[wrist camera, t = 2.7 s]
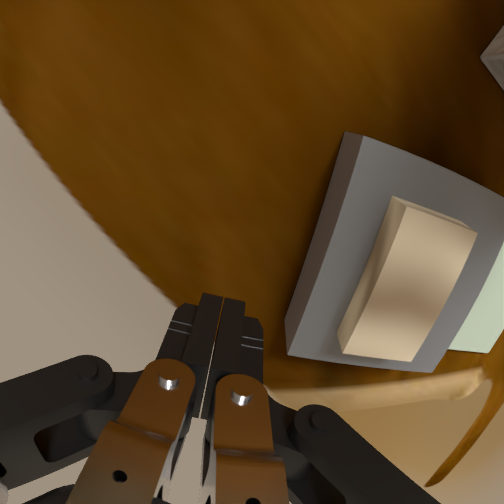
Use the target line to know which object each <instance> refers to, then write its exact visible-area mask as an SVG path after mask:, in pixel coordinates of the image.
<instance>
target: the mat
mask: <svg viewBox="0 0 504 504" xmlns="http://www.w3.org/2000/svg"><path fill="white" fill-rule="evenodd" d="M503 329H504V242H503V245H502V247H501V249H500V252H499V254H498V256H497V259H496V261H495V263H494V265H493V267H492V269H491V272H490V274H489V276H488V278H487V280H486V282H485V284H484V286H483V288H482V290H481V292H480V294H479V296H478V298H477V300H476V301H475V303H474V305H473V307H472V309H471V311H470V312H469V314H468V316H467V318H466V319H465V321H464V323H463V325H462V326H461V328H460V330H459V331H458V333H457V335H456V336H455V338H454V340H453V341H452V343H451V344H450V346H449V348H448V349H453V350H462V351H472V352H482V353H489V351H490V350H491V348H492V346H493V345H494V343H495V342H496V340H497V339H498V337H499V335H500V334H501V332H502V331H503Z"/></svg>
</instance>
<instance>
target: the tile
mask: <svg viewBox="0 0 504 504" xmlns="http://www.w3.org/2000/svg"><path fill="white" fill-rule="evenodd" d="M477 234H478V233H477V232H475V231H474V230H473V229H471V228H470V227H468V226H467V225H466V224H464V223H463V222H461V221H459V220H457V219H454V218H452V217H449V216H447V215H444V214H441V213H439V212H436V211H434V210H431V209H428V208H425V207H423V206H420V205H417V204H414V203H412V202H409V201H406V200H403V199H400V198H397V197H394V196H392V198H391V200H390V203H389V206H388V209H387V212H386V215H385V217H384V220H383V223H382V226H381V228H380V231H379V234H378V236H377V239H376V242H375V244H374V247H373V249H372V252H371V254H370V257H369V259H368V262H367V264H366V267H365V269H364V272H363V274H362V276H361V279H360V281H359V284H358V286H357V288H356V291H355V293H354V295H353V297H352V300H351V302H350V304H349V307H348V309H347V311H346V313H345V315H344V318H343V320H342V322H341V324H340V326H339V328H338V330H337V335H338V339H339V343H340V346H341V350H342V353H344V354H351V355H358V356H365V357H373V358H381V359H389V360H398V361H407V362H411V361H412V360H413V358H414V356H415V355H416V353H417V352H418V350H419V348H420V347H421V345H422V344H423V342H424V340H425V339H426V337H427V335H428V333H429V332H430V330H431V328H432V327H433V325H434V323H435V321H436V320H437V318H438V316H439V314H440V312H441V310H442V309H443V307H444V305H445V303H446V301H447V299H448V297H449V295H450V293H451V291H452V289H453V287H454V285H455V283H456V281H457V279H458V277H459V275H460V273H461V271H462V269H463V267H464V264H465V262H466V260H467V258H468V256H469V253H470V251H471V249H472V246H473V244H474V242H475V239H476V237H477Z"/></svg>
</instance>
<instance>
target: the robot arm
mask: <svg viewBox="0 0 504 504" xmlns="http://www.w3.org/2000/svg"><path fill="white" fill-rule="evenodd" d="M222 300H223V297H221V296H216V295H212V294H207V293H203V294H202V297H201V300H200V303H199V306H196V305H192V304H187V303H184V304H183V305H182V306H180V307H179V308H177V309H176V310H175V313H174V315H173V318H172V321H171V322H170V325H169V328H168V330H167V333H166V335H165V337H164V340H163V343H162V345H161V347H160V350H159V352H158V355H157V357H156V360H155V361H153V362H151V363H149V364H148V365H147V366H146V367H145V369H144V370H142V371H138V372H113V371H112V368H111V367H110V365H109V364H108V363H107V362H106V361H105V360H103V359H101V358H99V357H97V356H93V355H81V356H77V357H74V358H71V359H68V360H65V361H63V362H60V363H57V364H54V365H51V366H48V367H46V368H43V369H40V370H37V371H34V372H32V373H28V374H25V375H23V376H19V377H17V378H14V379H11V380H8V381H5V382H2V383H0V504H6V502H7V499H8V490H10V489H12V488H15V487H18V486H21V485H23V484H26V483H28V482H31V481H33V480H36V479H38V478H40V477H43V476H45V475H48V474H50V473H53V472H55V471H57V470H60V469H62V468H64V467H66V466H68V465H71V464H73V463H75V462H77V461H80V460H82V459H84V458H86V457H88V456H89V457H88V459H87V461H86V463H85V465H84V467H83V470H82V471H81V473H80V475H79V477H78V479H77V481H76V483H75V484H72V485H67V486H62V487H59V488H56V489H54V490H51V491H49V492H47V493H45V494H43V495H41V496H38V497H36V498H34V499H32V500H30V501H27V502H25V503H23V504H170V503H168V502H167V499H168V495H169V491H170V486H171V482H172V480H173V476H174V473H175V470H176V467H177V463H178V460H179V457H180V454H181V451H182V448H183V444H184V441H185V438H186V434H187V433H188V431H189V428H190V423H191V419H192V417H196V418H198V417H199V412H200V407H201V402H202V398H203V393H204V388H205V384H206V379H207V374H208V369H209V364H210V359H211V354H212V349H213V344H214V339H215V334H216V330H217V325H218V320H219V315H220V310H221V305H222ZM244 312H245V302H244V301H239V300H235V299H230V298H226V297H225V299H224V304H223V308H222V313H221V317H220V322H219V326H218V331H217V336H216V340H215V345H214V350H213V356H212V361H211V366H210V371H209V376H208V381H207V387H206V392H205V397H204V402H203V408H202V413H201V419H206V420H207V425H206V430H205V434H204V438H203V448H202V465H201V482H200V494H199V502H198V504H289V501H290V502H291V503H292V504H441V503H439V502H438V501H437V500H436V499H434V498H433V497H432V496H431V495H429V494H428V493H427V492H426V491H425V490H423V489H422V488H421V487H420V486H418V485H417V484H416V483H415V482H414V481H412V480H411V479H410V478H409V477H408V476H406V475H405V474H404V473H403V472H402V471H400V470H399V469H398V468H397V467H396V466H395V465H393V464H392V463H391V462H390V461H389V460H388V459H387V458H385V457H384V456H383V455H382V454H381V453H380V452H379V451H377V450H376V449H375V448H374V447H373V446H372V445H371V444H369V443H368V442H367V441H366V440H365V439H364V438H363V437H362V436H361V435H359V434H358V433H357V432H356V431H355V430H354V429H353V428H352V427H351V426H350V425H349V424H347V423H346V422H345V421H344V420H343V419H342V418H341V417H340V416H339V415H338V414H337V413H335V412H334V411H333V410H331V409H330V408H327V407H325V406H322V405H314V404H313V405H307V406H304V407H302V408H300V409H299V410H298V411H296V410H294V409H291V408H288V407H286V406H283V405H281V404H279V403H278V402H276V401H275V400H273V399H272V398H271V397H270V396H269V395H268V393H267V390H266V388H265V387H264V386H263V328H262V326H261V324H260V322H259V321H258V319H256V318H251V317H246V316H244Z"/></svg>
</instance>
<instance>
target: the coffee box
mask: <svg viewBox="0 0 504 504" xmlns="http://www.w3.org/2000/svg"><path fill="white" fill-rule="evenodd" d="M480 58H481V60H482V62H483V63H484V64H485V66H486V67H487V68H488V70H489V71H490V72H491V74H492V75H493V77H494V78H495V79H496V81H497V82H498V84H499V85H500V86H501V88H502V89H503V91H504V26H503V27H502V28H501V30H500V31H499V32H498V34H497V35H496V36H495V38H494V39H493V40H492V42H491V43H490V44H489V46H488V47H487V48H486V50H485V51H484V52H483V53H482V55H481V57H480Z"/></svg>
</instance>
